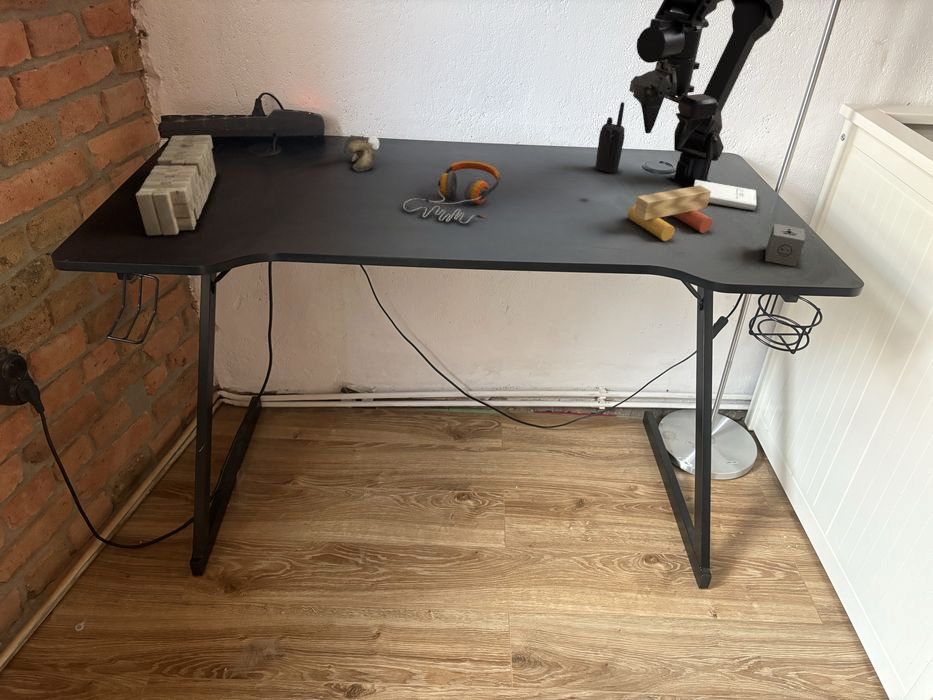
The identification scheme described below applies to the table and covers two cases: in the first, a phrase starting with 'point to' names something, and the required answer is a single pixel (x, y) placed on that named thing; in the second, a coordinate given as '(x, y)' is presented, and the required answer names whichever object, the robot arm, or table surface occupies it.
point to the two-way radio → (610, 144)
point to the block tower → (177, 186)
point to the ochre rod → (653, 225)
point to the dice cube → (785, 245)
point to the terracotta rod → (695, 220)
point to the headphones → (474, 189)
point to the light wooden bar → (672, 202)
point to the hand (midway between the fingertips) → (662, 140)
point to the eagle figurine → (361, 151)
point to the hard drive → (730, 195)
